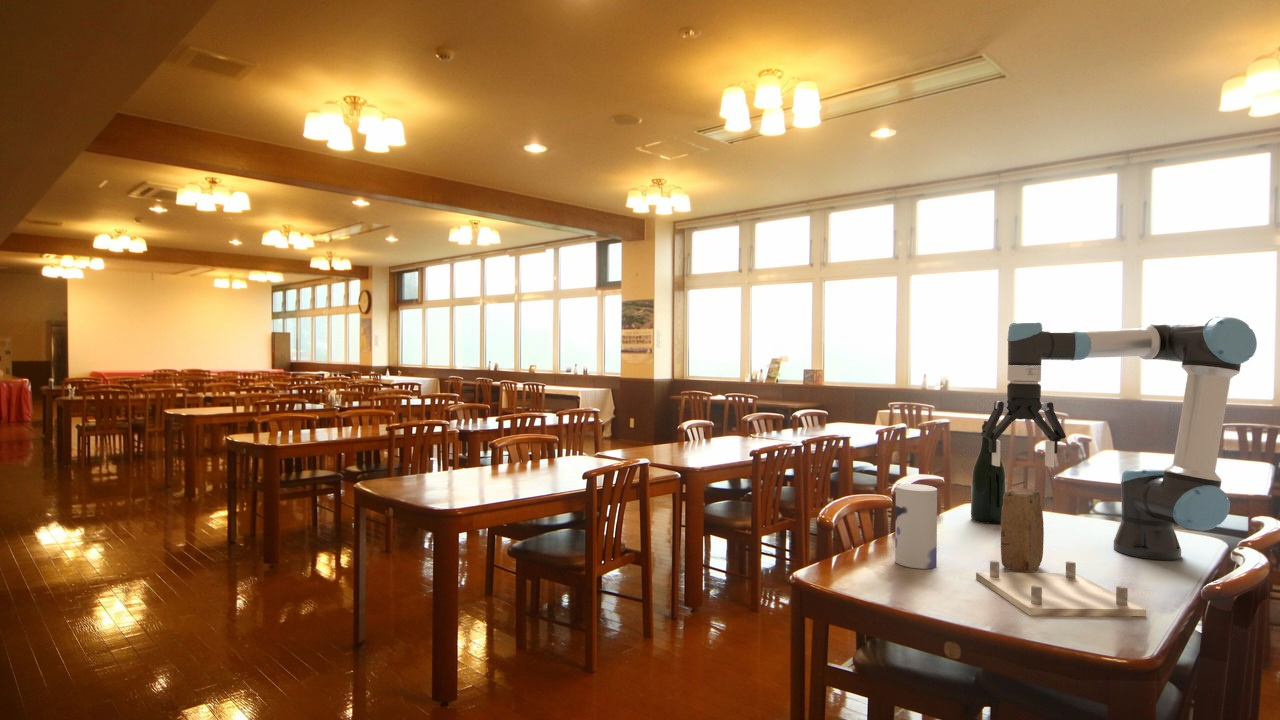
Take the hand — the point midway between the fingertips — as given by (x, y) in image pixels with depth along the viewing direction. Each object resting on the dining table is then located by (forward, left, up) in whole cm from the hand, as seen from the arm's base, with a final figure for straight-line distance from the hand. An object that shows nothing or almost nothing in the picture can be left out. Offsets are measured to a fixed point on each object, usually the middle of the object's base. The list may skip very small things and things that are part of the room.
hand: (1022, 466), depth 178 cm
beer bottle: (-16, -51, -26) cm, 60 cm away
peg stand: (+4, +21, -26) cm, 34 cm away
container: (+26, -3, -26) cm, 37 cm away
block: (0, 0, -26) cm, 26 cm away
